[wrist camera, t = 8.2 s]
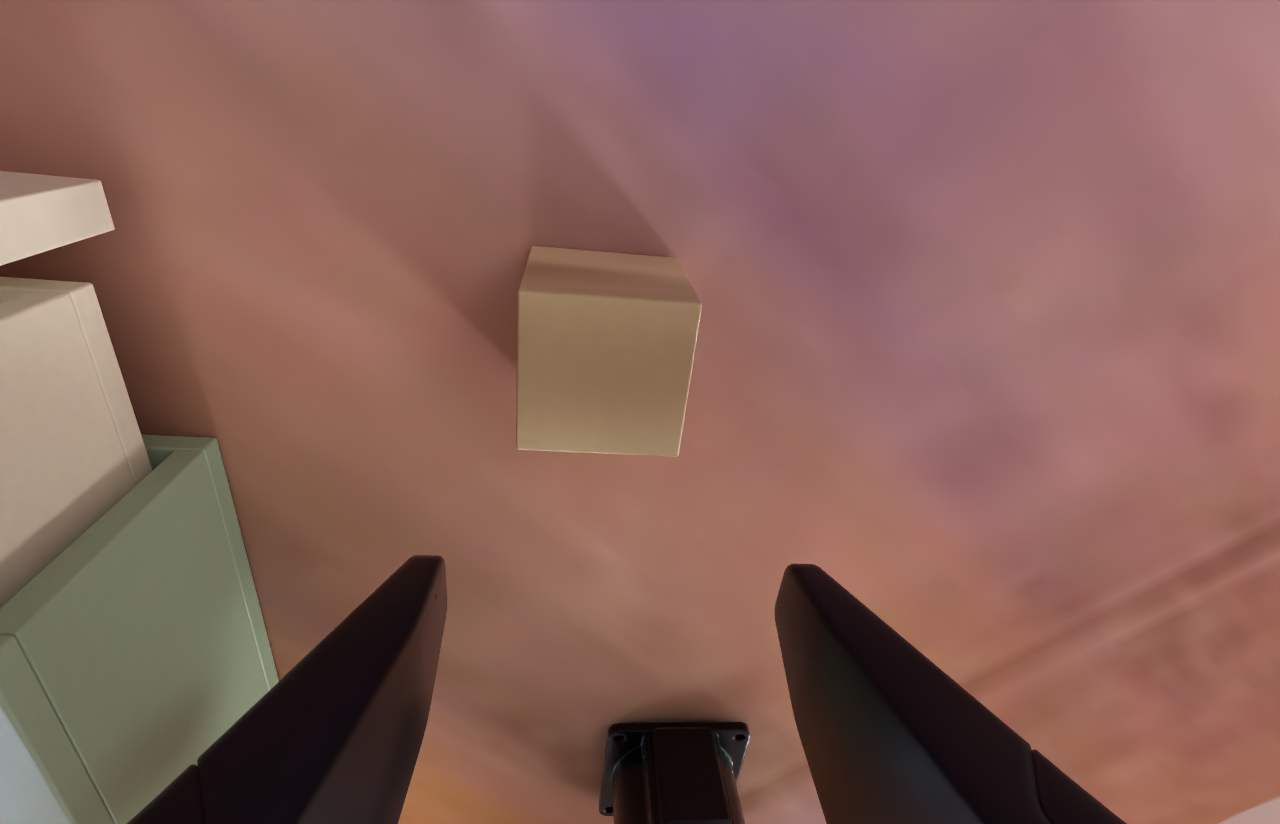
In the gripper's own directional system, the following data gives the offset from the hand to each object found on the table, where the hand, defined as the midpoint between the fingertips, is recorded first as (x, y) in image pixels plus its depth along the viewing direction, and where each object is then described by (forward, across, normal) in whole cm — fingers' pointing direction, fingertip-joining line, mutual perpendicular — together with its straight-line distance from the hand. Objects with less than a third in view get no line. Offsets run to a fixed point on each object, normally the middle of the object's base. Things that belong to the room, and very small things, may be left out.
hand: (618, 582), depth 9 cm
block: (+11, 0, 0) cm, 11 cm away
